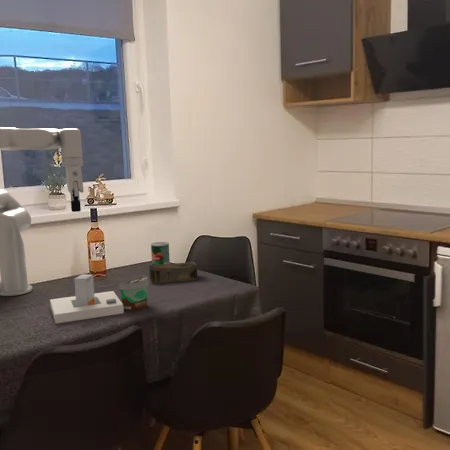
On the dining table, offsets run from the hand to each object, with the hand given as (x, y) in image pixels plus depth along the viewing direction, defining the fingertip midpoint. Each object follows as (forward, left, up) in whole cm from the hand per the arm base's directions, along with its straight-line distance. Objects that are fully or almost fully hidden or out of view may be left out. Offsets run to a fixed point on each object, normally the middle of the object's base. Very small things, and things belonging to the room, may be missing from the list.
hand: (76, 211), depth 207 cm
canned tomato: (+37, +21, -31) cm, 53 cm away
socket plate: (-2, -25, -31) cm, 40 cm away
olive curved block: (+36, -1, -32) cm, 48 cm away
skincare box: (-2, -25, -31) cm, 40 cm away
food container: (+15, -31, -31) cm, 47 cm away
